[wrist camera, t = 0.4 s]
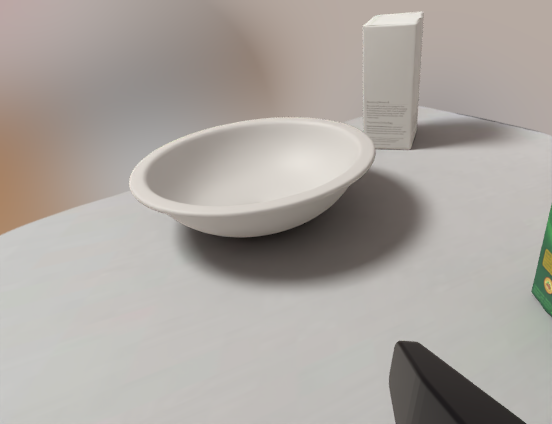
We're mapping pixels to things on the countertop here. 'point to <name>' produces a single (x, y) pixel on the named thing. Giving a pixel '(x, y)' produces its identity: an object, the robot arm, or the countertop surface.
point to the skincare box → (392, 78)
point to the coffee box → (545, 270)
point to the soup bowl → (253, 174)
